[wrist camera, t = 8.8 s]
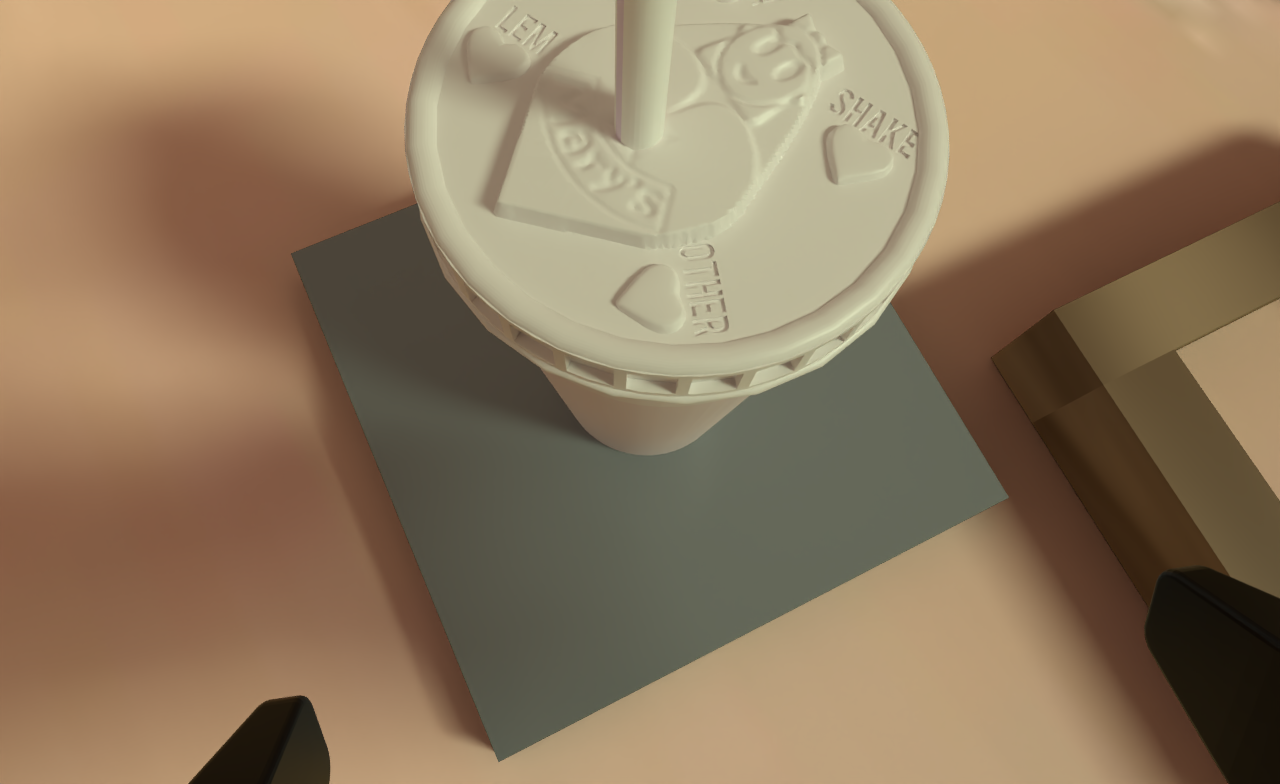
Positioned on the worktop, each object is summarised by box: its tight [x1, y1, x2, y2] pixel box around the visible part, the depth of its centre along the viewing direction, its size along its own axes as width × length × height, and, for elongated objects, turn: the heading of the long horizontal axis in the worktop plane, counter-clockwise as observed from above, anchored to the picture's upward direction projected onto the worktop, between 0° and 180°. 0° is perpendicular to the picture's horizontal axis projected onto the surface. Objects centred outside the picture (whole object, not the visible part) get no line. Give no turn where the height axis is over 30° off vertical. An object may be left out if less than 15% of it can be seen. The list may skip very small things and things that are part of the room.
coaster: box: [291, 204, 1009, 762], centre depth 19 cm, size 12×12×1 cm
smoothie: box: [404, 0, 949, 455], centre depth 12 cm, size 6×6×14 cm
